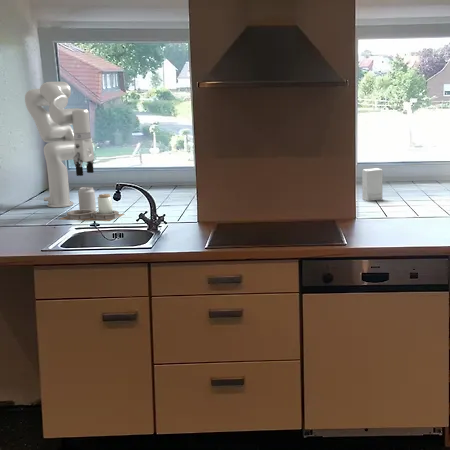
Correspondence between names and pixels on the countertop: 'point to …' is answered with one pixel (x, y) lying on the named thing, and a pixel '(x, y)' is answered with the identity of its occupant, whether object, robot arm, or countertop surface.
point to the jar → (105, 204)
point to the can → (87, 198)
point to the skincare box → (372, 184)
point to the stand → (90, 215)
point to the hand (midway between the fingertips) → (85, 174)
